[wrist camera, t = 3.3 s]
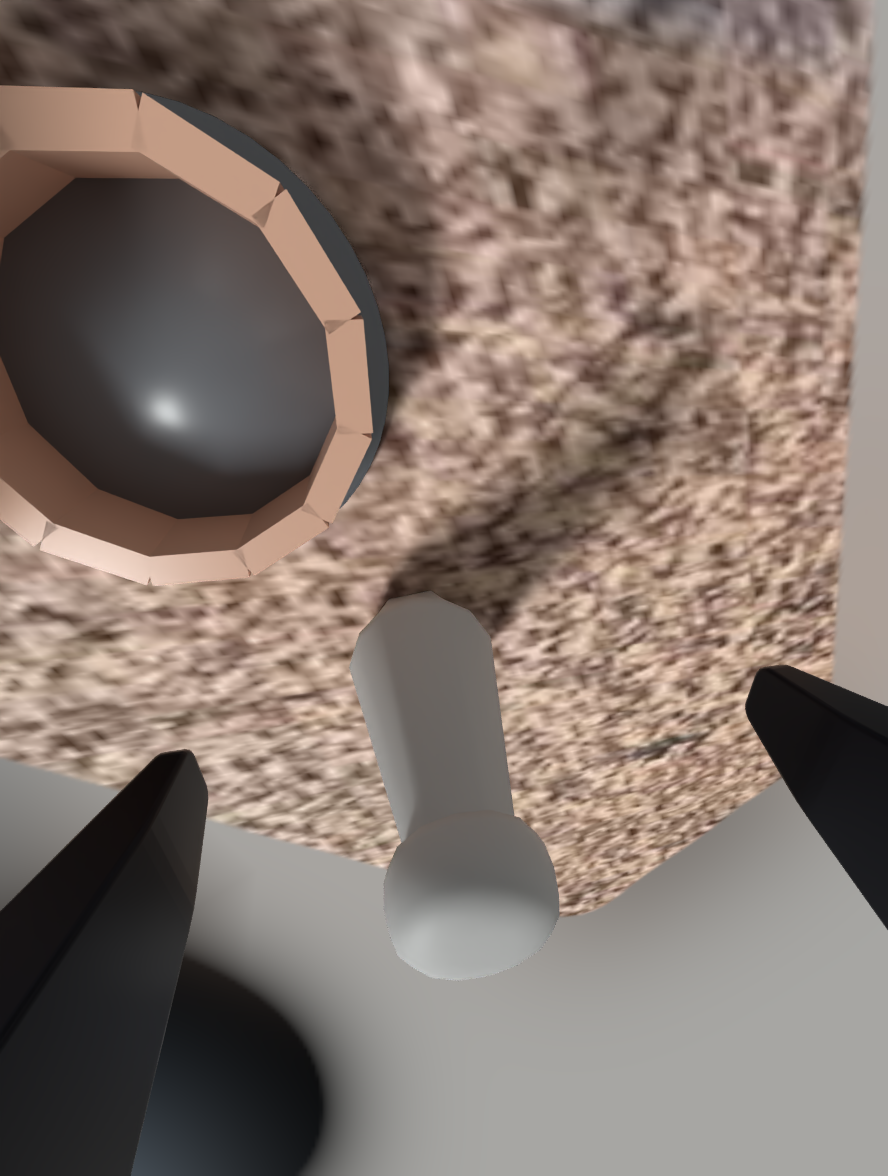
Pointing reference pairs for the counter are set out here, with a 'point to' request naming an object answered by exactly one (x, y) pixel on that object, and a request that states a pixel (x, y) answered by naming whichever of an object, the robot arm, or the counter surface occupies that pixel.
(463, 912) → the salt shaker
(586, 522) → the counter surface
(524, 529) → the counter surface
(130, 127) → the socket
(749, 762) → the counter surface
